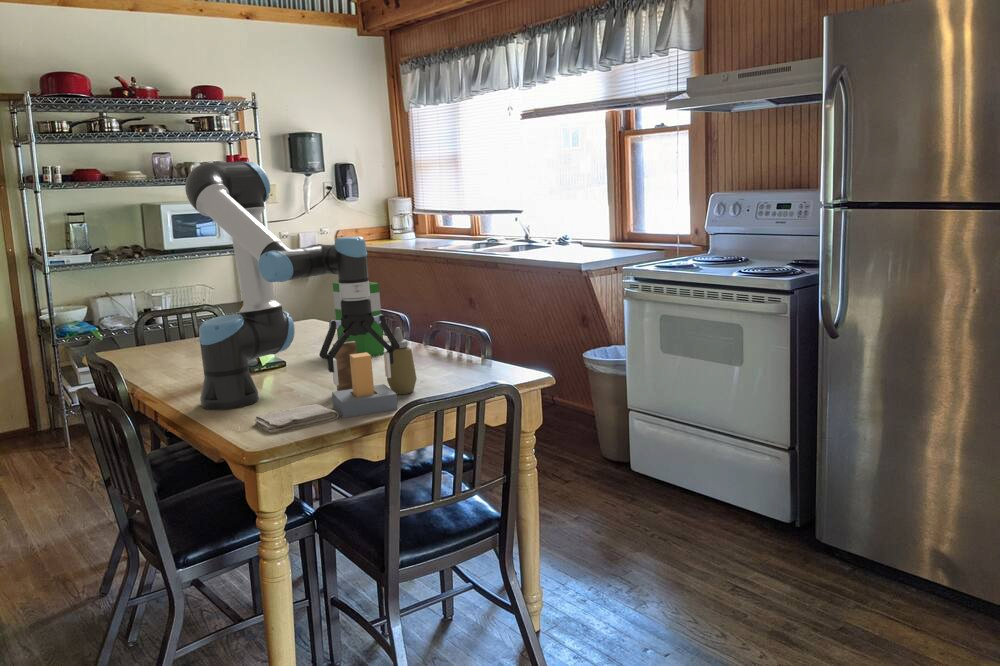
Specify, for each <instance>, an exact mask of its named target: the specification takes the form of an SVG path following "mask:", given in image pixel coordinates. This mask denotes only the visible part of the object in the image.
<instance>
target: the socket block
mask: <svg viewBox="0 0 1000 666" xmlns="http://www.w3.org/2000/svg"><path fill="white" fill-rule="evenodd" d="M331 396H332V398H331V399H332V406H333V408H334V409H335V411H336V412H338V414H339V416H341V417H342V418H343V419H346V418H351V417H356V416H357V417H358V416H363V415H371V414H377V413H381V412H389V411H394V410H399V409H398V407H399V406H398V394H396V393H395V392H393V391H392V390H391V388H390V387H389V386H387V385H386V384H385V383H383V384H376V385H374V394H373V395H366V396H360V397H354V396H353V389H348V390H342V391H337V390H335V391H332V392H331Z"/></svg>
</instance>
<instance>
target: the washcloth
mask: <svg viewBox="0 0 1000 666" xmlns="http://www.w3.org/2000/svg"><path fill="white" fill-rule="evenodd" d="M339 416H340V414H339V413H338V411H337V410H333V409H331V408H327V407H325V406H323V405H320V404H319V403H313V404H308V405H303V406H296V407H290V408H287V409H282V410H279V411H273V412H268V413H263V414H259V415H256V416H255V418H254V420H253V421H255V425H257V427H258V428H260V429H262V430H264V431H265V432H266V433H269V434H275V433H281V432H286V431H290V430H294V429H295V430H296V429H301V428H304V427H308V426H313V425H318V424H322V423H326V422H331V421H335V420H336V419H338V417H339Z"/></svg>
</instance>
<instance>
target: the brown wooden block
mask: <svg viewBox="0 0 1000 666" xmlns="http://www.w3.org/2000/svg"><path fill="white" fill-rule="evenodd" d="M334 344H335V343H332V347H333V346H334ZM351 354H357V349H356V342H355V341H350V342H344V344H343V345H342V347H341V348H340V350H339V351H338V352H337V354H336V355H335V357H334V358H335V359H336V360H337V371H338V382H339V385H336V391H342V390H348V389H353V387H352V376H351V365H350V355H351Z"/></svg>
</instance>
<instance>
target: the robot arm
mask: <svg viewBox="0 0 1000 666" xmlns="http://www.w3.org/2000/svg"><path fill="white" fill-rule="evenodd" d="M184 189H185V194H186V195H185V196H186V198H187V201H188V202H189V203H190V205H191V206H192V207H193V208H194V209H195V211H197V212H198V213H199V214H200V215H201V216H204V217H209V218H210V219H212V221H213V222H214V223H216V224H217V225H218V226H219V227H220V228H222V229H223V230H224V231H225V233H227V234H228V235H229V236H230V237H231V240H232V246H233V251H234V256H235V262H236V268H237V274H238V278H239V285H240V291H241V296H242V301H243V306H242V307H241V308H240V309H239V314H235V313H233V314H225V315H220V316H217V317H213V318H212V317H211V318H210V319H207V320H205V321H204V322H202V323H201V324H200V325H199V328H198V333H199V334H198V336H199V338H198V342H199V344H200V353H201V359H202V367H203V375H204V376H203V377H204V379H203V383H202V389H201V393H200V400H199V401H200V407H201V408H202V409H206V410H215V411H216V410H217V411H218V410H231V409H238V408H243V407H247V406H249V405H253V404H254V403H257V402H258V401H259V399H260V398H259V391H258V389H257V386H256V384H255V382H254V379H253V377H252V375H251V373H250V369H249V360H254V359H257V358H261V357H267V356H269V355H277V354H279V353H281V352H283V351H286V350H287V349H288V348H289V347H290V346H291V344H292V343H293V341H294V339H295V338H294V337H295V333H296V331H295V328H296V327H295V324H294V320H293V318H292V317H291V315H290V313H289V312H287V311H285V310H283V307H282V306H283V305H282V303H280V302H279V301H277V300H276V297H275V292H274V285H273V283H284V282H287V281H288V282H289V281H292V280H298V279H299V280H300V279H303V278H310V277H317V276H323V275H337V277H338V279H337V280H338V283H339V291H340V298H342V299H343V300H341V313H342V318H341V320H337V321H336V320H334V319H330V320H329V322H328V323H329V325H328V327H329V329H328V331H327V333H326V336H325V339H324V341H323V344H322V347H321V348H320V351H319V354H318V355H319V357H320V358H321V359H322V360H323V359H324V360H326V361H327V362H326V363H327V369H328V372H329V373H332V381H333V385H335V386H337V385H339V382H338V371H337V360H336V359H335V358H334V357H335V355H336V354H337V352H338V351H339V350H340V348H341V347H342V345H343V344H344V342H345V341H346V339H347V338H348V337H349V336H350V335H352V336H357V335H365V334H366V333H370V334H371V335H372V336H373V337H374V338H375V339H376V340H377V341H378V342H379V343H380V344H381V345H382V346H383V347H384V354H383V360H384V370H385V371H384V373H385V377H386V378H387V377H388V378H391V369H390V364H393V362H394V360H393V352H394V350H395V349H399V347H400V346H399V344H398V342H397V341H396V339H395V337H394V336H395V335H394V334H393V333H392V331H391V329H390V328H389V326H388V324H387V322H386V316H385V315H384V314H382V313H381V314H379V315H378V316H374V317H373V316H372V310H371V299H370V298H368V297H369V296H370V288H369V282H370V279H369V277H370V276H369V265H368V250H367V245H366V240H365V238H364V237H363V236H359V235H358V236H357V235H356V236H342V237H341V236H340V237H336V238H335V240H334V241H335V243H334V244H322V243H318V244H317V243H316V244H310V245H307V246H305V247H303V246H302V247H296V248H295V247H294V248H291V247H288V245H287V244H286V243H284V242H282V240H280V239H279V237H277V236H276V235H275V234H274V233H273V232H272V231H270V230H269V229H268V228H267V227H266V226H265V225H264V224H263V222H262V217H261V215H262V212H264V210H265V202H267V201H268V200H269V198H270V193H271V183H270V179H269V177H268V175H267V173H266V171H265V170H264V169H263V167H261V166H260V165H259V164H258V163H255V162H252V161H251V162H250V161H241V160H239V161H227V162H226V161H225V162H224V161H223V162H204V163H201V164H198V165H197V166H195V167H194V168H193V169H192V170H191V171H190V172H189V174H188V175H187V177H186V180H185V187H184ZM374 321H376V322H377V323H378V324H380V326H381V328H382V329H383V333H384V334H385V335H386V337H387V339H388V340H389V342H391V344H392V345H390V343H389V344H388V343H387V341H386V340H385V339H384V338H383V339H382V338H381V337H380V336H379V335H378V334H377V333H376V332H375V331H374V330H373V329H372V328H371V326H372V324H373V323H374ZM340 325H341V326H342V327H343V328H344V330H343V332H342V333H341V335H340V337H339V338H338V337H337V340H336V341H335V342H334V343H333V344H334V346H333V345H332V341H333V339H334V337H335V334H336V333H337V329H338V328H339V326H340ZM331 345H332V346H331ZM330 347H331V349H330Z"/></svg>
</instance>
